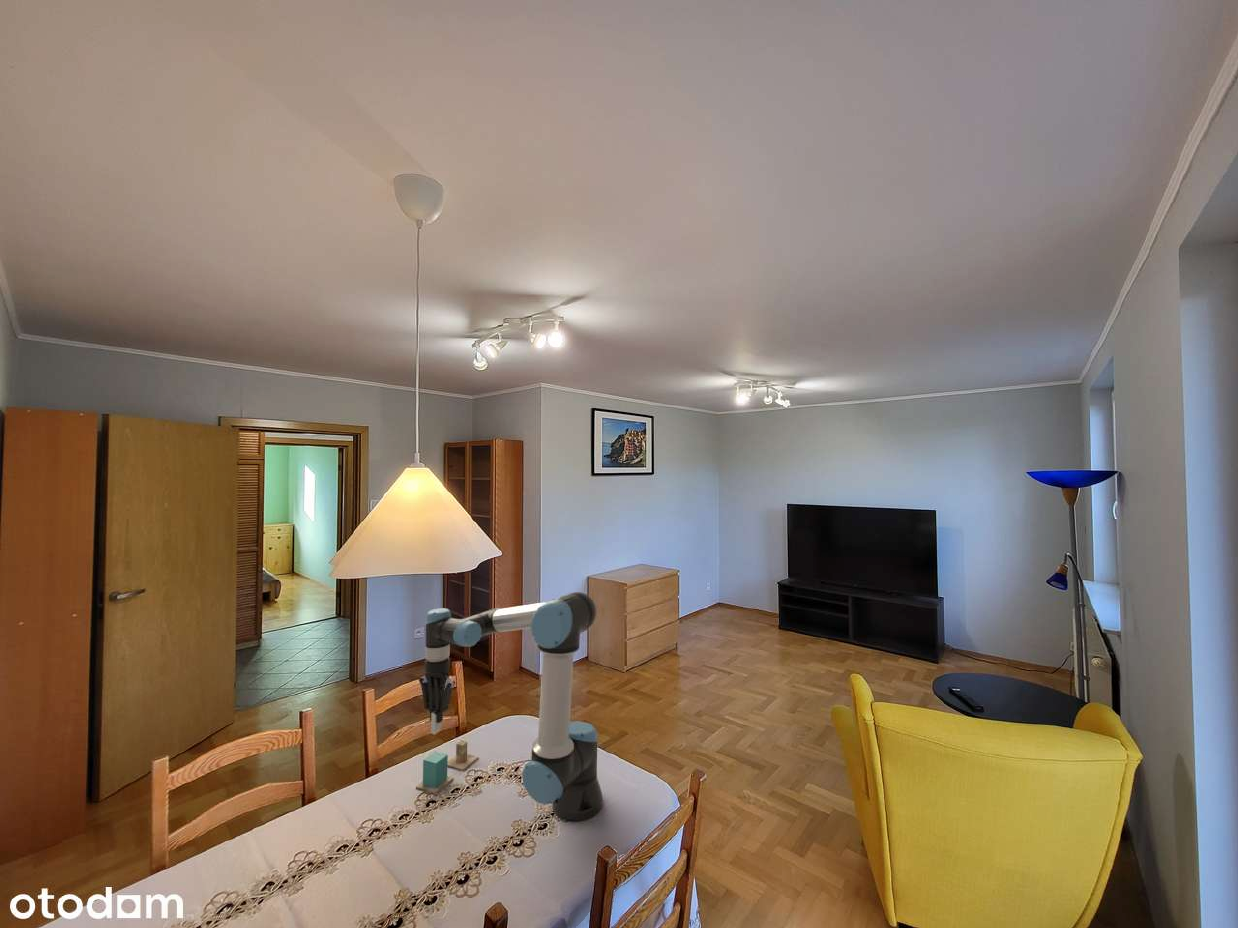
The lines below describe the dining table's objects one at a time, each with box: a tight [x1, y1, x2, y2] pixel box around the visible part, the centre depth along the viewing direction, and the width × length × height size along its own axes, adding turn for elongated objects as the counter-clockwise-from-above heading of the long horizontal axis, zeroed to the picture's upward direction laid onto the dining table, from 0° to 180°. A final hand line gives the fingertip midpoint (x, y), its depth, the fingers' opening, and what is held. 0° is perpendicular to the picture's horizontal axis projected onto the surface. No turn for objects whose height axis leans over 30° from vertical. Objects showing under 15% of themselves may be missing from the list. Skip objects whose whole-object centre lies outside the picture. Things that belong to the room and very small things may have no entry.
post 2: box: [447, 739, 479, 772], centre depth 166 cm, size 8×8×7 cm
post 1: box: [415, 775, 454, 795], centre depth 154 cm, size 8×8×7 cm
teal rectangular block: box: [422, 751, 449, 789], centre depth 154 cm, size 5×5×8 cm
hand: (435, 731), depth 155 cm, fingers closed
